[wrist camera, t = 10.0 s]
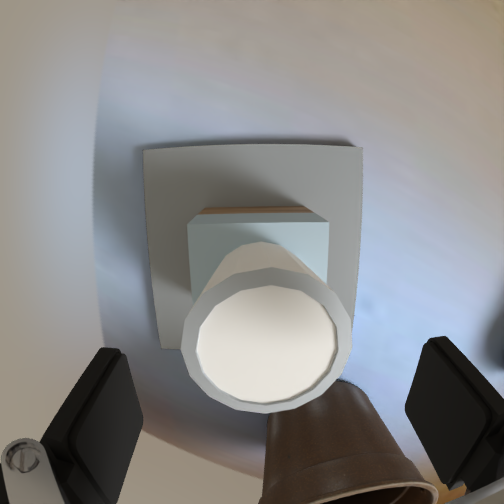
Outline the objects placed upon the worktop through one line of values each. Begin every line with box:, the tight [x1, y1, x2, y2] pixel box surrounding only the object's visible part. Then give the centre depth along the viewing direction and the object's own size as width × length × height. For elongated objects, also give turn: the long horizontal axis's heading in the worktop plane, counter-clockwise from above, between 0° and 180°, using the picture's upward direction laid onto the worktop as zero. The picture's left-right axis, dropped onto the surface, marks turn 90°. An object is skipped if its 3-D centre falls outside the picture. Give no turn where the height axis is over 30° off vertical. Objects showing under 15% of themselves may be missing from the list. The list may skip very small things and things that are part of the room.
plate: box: [143, 144, 363, 349], centre depth 27 cm, size 18×18×1 cm
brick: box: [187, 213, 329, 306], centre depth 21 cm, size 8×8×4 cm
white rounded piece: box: [181, 241, 352, 414], centre depth 15 cm, size 7×7×7 cm
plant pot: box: [258, 381, 438, 504], centre depth 25 cm, size 16×16×16 cm
